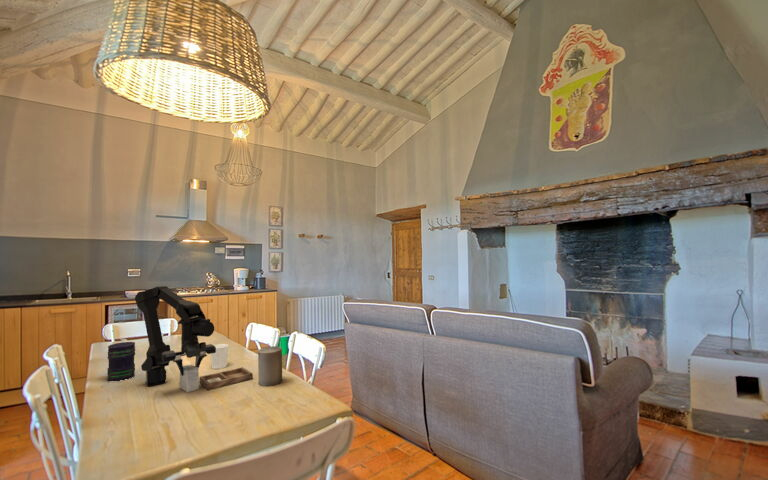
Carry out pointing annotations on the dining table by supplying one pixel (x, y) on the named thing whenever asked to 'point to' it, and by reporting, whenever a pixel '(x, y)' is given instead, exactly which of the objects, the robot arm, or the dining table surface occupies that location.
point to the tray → (225, 378)
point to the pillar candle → (270, 366)
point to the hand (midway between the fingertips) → (189, 374)
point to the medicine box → (189, 378)
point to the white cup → (219, 356)
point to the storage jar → (121, 361)
